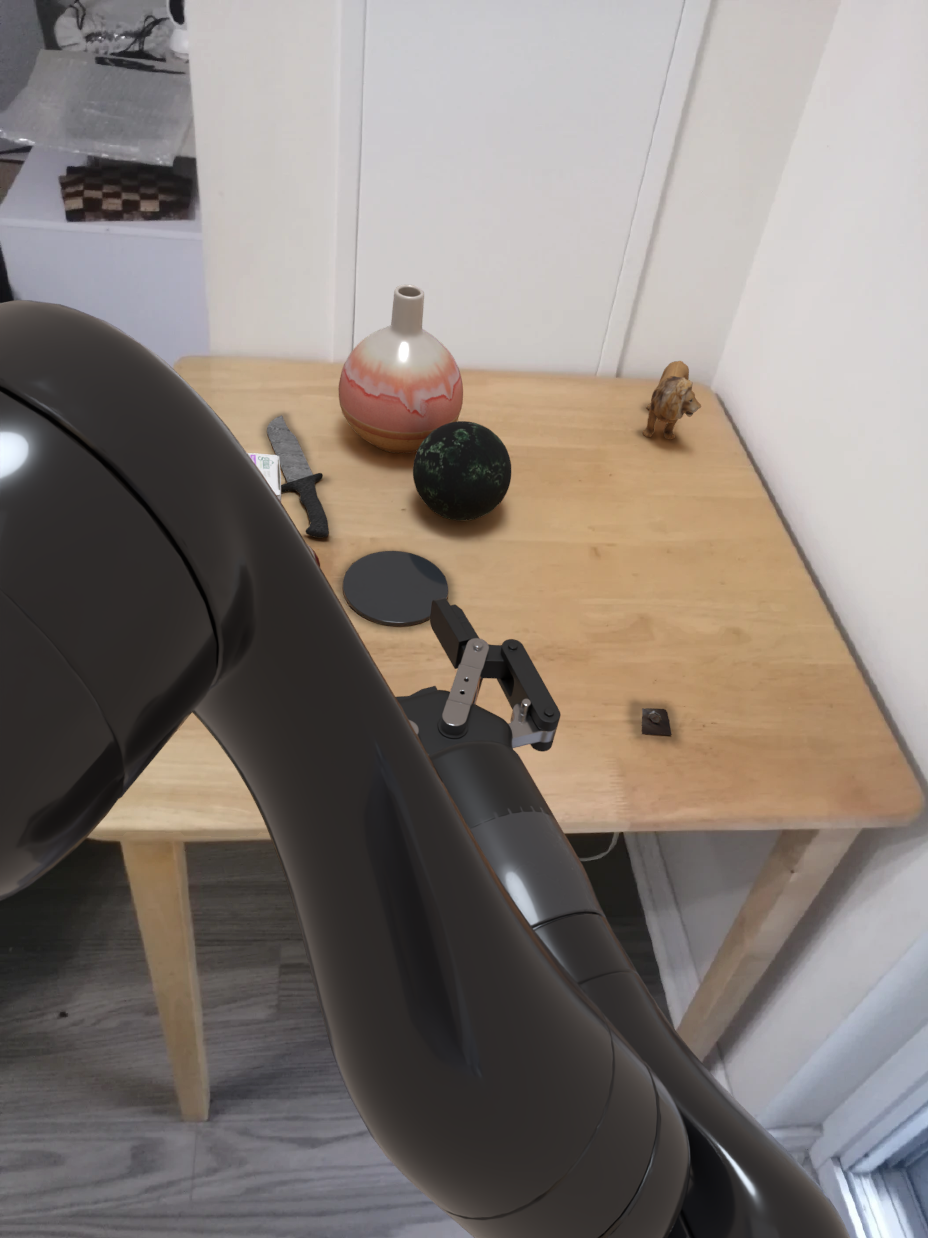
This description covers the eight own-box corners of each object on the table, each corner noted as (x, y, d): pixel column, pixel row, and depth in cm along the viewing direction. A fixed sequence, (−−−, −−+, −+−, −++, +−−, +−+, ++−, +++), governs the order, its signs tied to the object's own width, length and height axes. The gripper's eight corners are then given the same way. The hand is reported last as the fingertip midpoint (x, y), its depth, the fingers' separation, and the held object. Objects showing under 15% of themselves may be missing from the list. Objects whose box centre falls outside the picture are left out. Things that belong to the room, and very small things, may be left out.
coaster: (326, 608, 86) (326, 604, 86) (364, 543, 93) (364, 539, 93) (429, 638, 85) (430, 634, 85) (460, 570, 92) (460, 566, 92)
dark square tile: (638, 734, 80) (640, 725, 79) (634, 708, 82) (636, 698, 81) (671, 735, 80) (674, 726, 79) (667, 709, 82) (669, 699, 81)
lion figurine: (685, 459, 111) (708, 393, 104) (641, 451, 111) (661, 384, 105) (680, 395, 121) (701, 331, 115) (639, 388, 121) (658, 323, 115)
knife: (250, 414, 106) (294, 409, 107) (251, 423, 106) (294, 417, 108) (298, 535, 91) (348, 527, 93) (299, 544, 92) (348, 536, 93)
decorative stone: (411, 539, 95) (419, 457, 88) (407, 479, 102) (414, 399, 95) (508, 542, 96) (524, 462, 89) (498, 483, 103) (512, 404, 96)
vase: (383, 487, 100) (394, 336, 88) (313, 423, 107) (314, 275, 95) (481, 450, 107) (503, 305, 95) (409, 393, 114) (422, 251, 102)
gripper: (642, 776, 42) (488, 549, 52) (338, 876, 37) (233, 603, 47) (605, 864, 47) (473, 642, 57) (335, 962, 42) (241, 700, 52)
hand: (365, 625), depth 52 cm, fingers open, 8 cm apart
